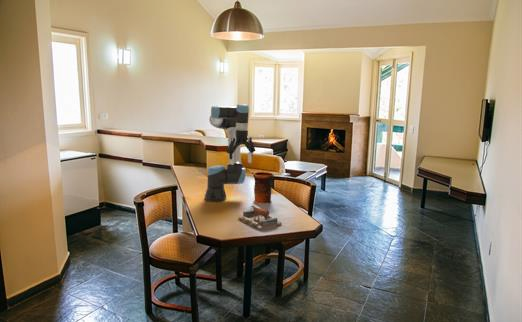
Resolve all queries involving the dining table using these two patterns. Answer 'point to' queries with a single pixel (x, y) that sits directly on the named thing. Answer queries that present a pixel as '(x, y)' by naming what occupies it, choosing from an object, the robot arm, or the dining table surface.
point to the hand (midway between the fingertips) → (240, 163)
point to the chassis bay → (259, 220)
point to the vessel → (263, 187)
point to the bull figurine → (260, 212)
